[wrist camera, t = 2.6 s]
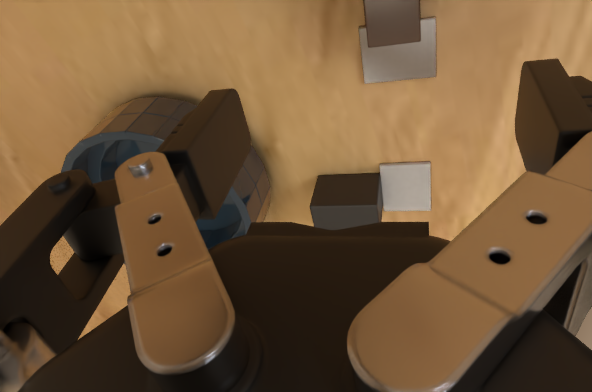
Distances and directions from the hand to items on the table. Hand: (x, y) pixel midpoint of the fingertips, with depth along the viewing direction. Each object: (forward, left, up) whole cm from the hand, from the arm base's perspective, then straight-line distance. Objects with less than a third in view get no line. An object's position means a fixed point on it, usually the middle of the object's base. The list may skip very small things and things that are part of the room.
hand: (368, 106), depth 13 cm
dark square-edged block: (+14, -2, -14) cm, 20 cm away
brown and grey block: (+2, 0, -14) cm, 14 cm away
